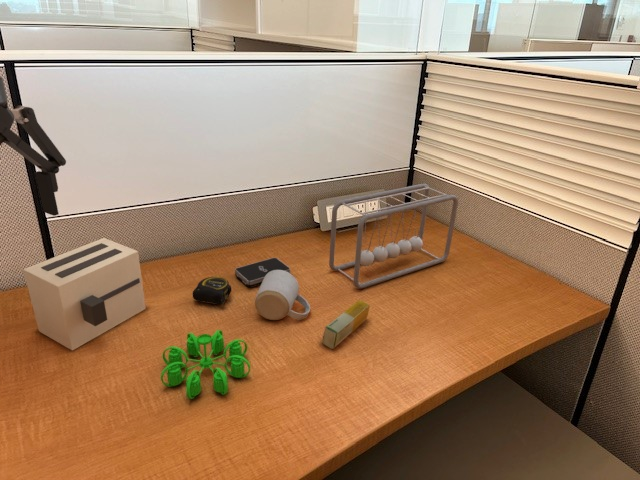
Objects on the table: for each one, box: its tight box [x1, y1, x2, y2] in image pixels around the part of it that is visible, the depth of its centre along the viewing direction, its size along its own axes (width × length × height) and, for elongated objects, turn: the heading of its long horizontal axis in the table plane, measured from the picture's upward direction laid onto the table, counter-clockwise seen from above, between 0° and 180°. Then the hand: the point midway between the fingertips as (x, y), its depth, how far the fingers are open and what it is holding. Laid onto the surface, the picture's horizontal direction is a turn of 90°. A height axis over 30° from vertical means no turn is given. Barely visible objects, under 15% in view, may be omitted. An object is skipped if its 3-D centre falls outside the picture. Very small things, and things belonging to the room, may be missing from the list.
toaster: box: [23, 237, 146, 351], centre depth 89 cm, size 10×16×13 cm, turn 149°
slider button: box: [80, 295, 107, 326], centre depth 83 cm, size 3×2×4 cm
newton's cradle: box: [328, 183, 459, 290], centre depth 113 cm, size 30×10×18 cm, turn 124°
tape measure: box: [192, 276, 232, 306], centre depth 100 cm, size 7×7×4 cm
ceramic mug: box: [254, 270, 311, 321], centre depth 95 cm, size 11×8×8 cm
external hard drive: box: [234, 257, 291, 288], centre depth 109 cm, size 7×11×2 cm, turn 126°
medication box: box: [321, 299, 371, 350], centre depth 91 cm, size 12×3×4 cm, turn 144°
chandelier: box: [160, 329, 251, 400], centre depth 79 cm, size 15×15×7 cm
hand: (7, 227), depth 70 cm, fingers open, 13 cm apart
